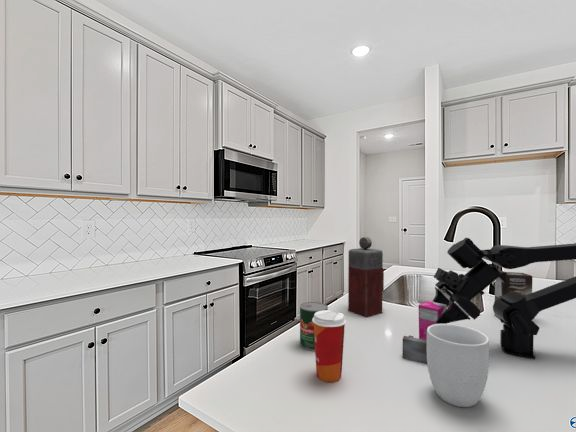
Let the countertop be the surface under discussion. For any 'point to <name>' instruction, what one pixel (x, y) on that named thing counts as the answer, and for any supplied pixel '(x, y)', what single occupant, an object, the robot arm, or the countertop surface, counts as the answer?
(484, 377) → the mug
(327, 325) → the paper cup
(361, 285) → the pepper mill
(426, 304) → the supplement box
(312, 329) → the canned tomato
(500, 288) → the coffee box
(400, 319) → the countertop surface
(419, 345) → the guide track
